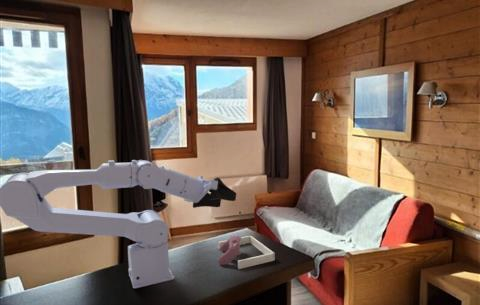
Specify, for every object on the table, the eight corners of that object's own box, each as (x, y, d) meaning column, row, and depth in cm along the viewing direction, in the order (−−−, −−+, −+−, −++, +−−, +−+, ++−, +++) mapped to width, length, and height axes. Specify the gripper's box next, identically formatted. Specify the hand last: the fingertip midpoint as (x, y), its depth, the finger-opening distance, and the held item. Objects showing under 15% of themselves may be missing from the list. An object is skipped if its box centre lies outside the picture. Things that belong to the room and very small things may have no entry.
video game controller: (232, 271, 89) (244, 248, 88) (216, 264, 88) (228, 241, 87) (233, 255, 98) (244, 234, 97) (219, 248, 98) (229, 227, 97)
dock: (238, 269, 86) (238, 261, 86) (218, 248, 99) (218, 241, 99) (274, 260, 91) (274, 253, 91) (250, 241, 104) (250, 235, 103)
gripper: (197, 161, 80) (244, 179, 86) (172, 178, 91) (215, 192, 97) (191, 189, 77) (241, 205, 83) (166, 203, 88) (212, 216, 94)
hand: (227, 200), depth 90 cm, fingers open, 7 cm apart
